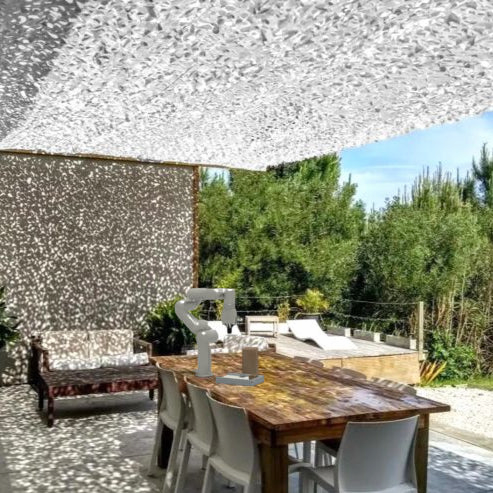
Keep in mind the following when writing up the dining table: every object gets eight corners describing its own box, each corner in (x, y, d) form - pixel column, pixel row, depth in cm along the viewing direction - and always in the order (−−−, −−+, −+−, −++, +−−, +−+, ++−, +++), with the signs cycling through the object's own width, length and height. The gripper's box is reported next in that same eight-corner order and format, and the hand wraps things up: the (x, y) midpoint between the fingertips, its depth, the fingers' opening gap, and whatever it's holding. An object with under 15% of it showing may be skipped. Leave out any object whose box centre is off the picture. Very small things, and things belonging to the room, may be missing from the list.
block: (255, 377, 437) (255, 348, 438) (241, 377, 439) (241, 348, 440) (258, 375, 447) (258, 346, 448) (244, 374, 449) (244, 346, 450)
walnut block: (248, 379, 416) (248, 375, 416) (251, 378, 420) (251, 374, 421) (254, 380, 415) (254, 375, 415) (257, 379, 419) (257, 374, 419)
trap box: (215, 382, 419) (215, 376, 419) (228, 378, 435) (228, 372, 435) (252, 386, 407) (252, 380, 407) (263, 381, 423) (263, 375, 423)
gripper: (217, 306, 433) (217, 333, 433) (236, 307, 427) (236, 334, 427) (222, 306, 440) (222, 332, 440) (241, 306, 434) (241, 333, 433)
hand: (229, 333), depth 433 cm, fingers closed
